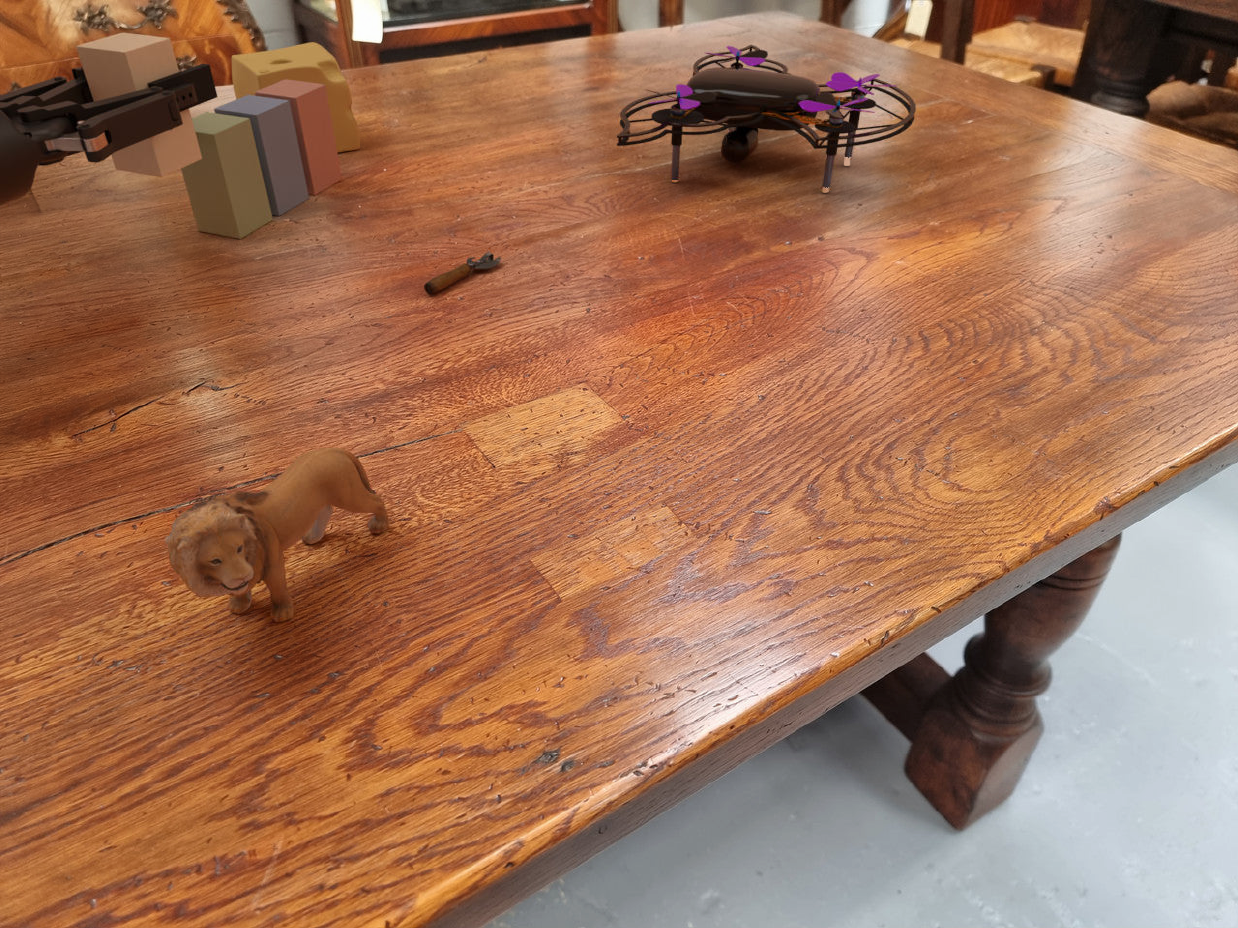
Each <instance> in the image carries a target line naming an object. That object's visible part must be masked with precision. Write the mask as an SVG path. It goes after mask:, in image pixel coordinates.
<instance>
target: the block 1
mask: <svg viewBox="0 0 1238 928" xmlns="http://www.w3.org/2000/svg"><path fill="white" fill-rule="evenodd" d="M75 48H76V51H77V54H78V58H79V60H80V64H81V66H82V67H81V68H83V70H84V73H85V76H86V79H87V82H88V85H89V88H90V91H91V94H92V97H93V100H94V102H95V101H99V100H103V99H107V98H111V97H115V96H119V95H123V94H127V93H131V92H135V91H139V90H143V89H147V88H149V87H148V84H147V83H149V82H152V81H155V80H158V79H161V78H164V77H166V76H169V75H172V74H175V73H178V72H180V70H179V65H178V62H177V59H176V54H175V51H174V47H173V44H172V40H171V38H170V37H164V36H155V35H147V34H138V33H131V32H119V33H115V34H112V35H109V36H105V37H101V38H99V39H95V40H92V41H88V42H85V43H81V44H78V45H75ZM180 115H181V118H182V122H183V124H182V125H180V126H178V127H175V128H173V129H172V130H168V131H166V132H163V133H161V134H158V135H156V136H153V137H151V138H148V139H146V140H143V141H141V142H138V143H136V144H133V145H131V146H129V147H126V148H124V149H121V150H119V151H116V152H114V153H113V154H112V155H111V158H112V162H113V165H114V168H115V170H117V171H123V172H128V173H134V174H141V175H144V176H145V175H146V176H152V177H157V178H164V177H166V176H168V175H171V174H173V173H175V172H177V171H179V170H181V168H183V167H185V166H188V165H190V164H192V163H194V162H196V161H198V160H201V159H202V155H201V152H200V148H199V144H198V141H197V137H196V133H195V129H194V126H193V122H192V118H193V117H192V115H191V111H190V108H189V109H187V110H184V111H182V112H180Z"/></svg>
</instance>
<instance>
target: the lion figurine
mask: <svg viewBox="0 0 1238 928" xmlns="http://www.w3.org/2000/svg"><path fill="white" fill-rule="evenodd" d="M333 507H336V508H338V509H340V510H344V511H346V512H349V513H350V512H351V513H354V514H369V513H370V514H373V516H372V518H370V519H369V521H368V522H367V528H368V531H369V532H370V533H373V534H382V533H384V532H386V531H387V530H388V528H389V525H390V521H389V516H388V513H387V509H386V506H385V503H384V501H383V499H382V497H381V496H380V494H377V492H376V490H375V489H373V488H372V486H371V482H370V479H369V476H368V473H367V472H366V470H365V468H364V465H363V464H362V462H361V461H360V460H359V458H358V457H357V456H356V455H355V454H354V453H352V451H350V450H348V449H346V448H341V447H325V448H324V447H323V448H318V449H314V450H310V451H307V452H304V453H302V454H300V455H299V456H298V457H296V458H295V459H294V460H293V461H292V462H291V463H290V465H289V466H288V467H287V468H286V469H285V470H284V471H283V472H282V473H281V474H279V476H278V477H276V478H275V479H274V480H273V481H272V482H270V483H269V484H267V485H266V486H265V487H263V488H262V489H260V490H258V491H257V492H249V491H246V490H236V491H234V492H232V493H226V494H224V495H223V496H220V495H217V496H210V497H209V499H203V500H200V502H197V503H193V504H192V506H191V507H190V508H188V509H186V510H185V511H183V512H181V514H180V515H179V516H178V517H176V518H175V519H174V520H173V522H172V524H171V532H170V533H169V534H168V535H166V537H165V538H164V542H165V544H166V546H167V547H168V558H169V565H170V566H171V568H172V570H173V571H174V572H175V573H176V574H177V575H178V576H179V577H180V579H181V581H183V583H184V585H185V586H186V588H187V589H188V590H189V591H190V592H192V593H193V594H194V595H196V596H197V597H198V598H200V599H201V598H204V599H208V598H217V597H222V596H229V598H228V601H227V608H228V609H227V610H228V611H230V613H232V614H238V615H239V614H240V615H241V614H243V613H244V612H246V611H247V610H248V609H249V608H250V607H251V605H252V601H253V595H252V590H253V589H254V588H255V587H256V585H257V584H261V582H263V583H264V584H265V585H266V587H267V589H268V590H269V595H270V603H271V607H272V608H271V609H270V612H269V614H270V615H269V616H270V618H271V619H272V620H273V621H274V622H276V623H281V622H286V621H289V620H292V619H293V618H294V615H295V607H294V600H293V598H292V596H291V593H290V591H289V589H288V583H287V577H286V574H287V573H286V566H285V565H286V564H285V563H286V560H285V559H286V558H285V553H284V552H286V551H287V550H288V549H290V548H291V547H292V546H294V545H295V544H296V543H298V542H299V541H300V540H301V541H302V542H303V543H306V544H308V545H313V544H316V543H318V542H319V541H321V540H322V539H323V538H324V536H325V533H326V530H327V527H328V525H329V522H330V520H331V518H332V516H333V513H334V508H333Z"/></svg>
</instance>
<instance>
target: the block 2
mask: <svg viewBox="0 0 1238 928" xmlns="http://www.w3.org/2000/svg"><path fill="white" fill-rule="evenodd" d="M191 118H192V122H193V126H194V129H195V133H196V137H197V141H198V144H199V148H200V152H201V155H202V159H201V160H198V161H196V162H194V163H192V164H190V165H188V166H185V167H183V168H181V169H180V170H181V174H182V179H183V182H184V184H185V188H186V191H187V195H188V199H189V202H190V206H191V209H192V213H193V216H194V219H195V223H196V227H197V230H198V232H202V233H207V234H211V235H216V236H223V237H228V238H233V239H237V240H241V239H243V238H244V237H246V236H248V235H250V234H252V233H253V232H255V231H257V230H258V229H260V228H262V227H263V226H266V225H267V224H268V223H271V222H272V221H273V220H274V219H273V215H272V214H271V209H270V205H269V201H268V196H267V192H266V188H265V183H264V179H263V175H262V170H261V166H260V161H259V157H258V153H257V148H256V144H255V140H254V135H253V131H252V127H251V122H250V119H249V118H244V117H237V116H230V115H223V114H216V113H215V112H208V111H206V112H202V113H201V114H198V115H196V116H194V117H191Z"/></svg>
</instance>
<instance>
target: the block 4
mask: <svg viewBox="0 0 1238 928" xmlns="http://www.w3.org/2000/svg"><path fill="white" fill-rule="evenodd" d="M255 96H260V97H267V98H275V99H282V100H289V101H290V106H291V111H292V116H293V121H294V126H295V131H296V136H297V141H298V146H299V151H300V156H301V160H302V165H303V170H304V175H305V180H306V185H307V190H308V195H312V196H316V195H318V194H319V193H321V192H324V191H325V190H327V189H328V188H329V187H331V186H333V185H335V184H336V183H338V182H339V181H341V180H343V176H342V172H341V170H342V169H341V166H340V165H341V164H340V160H339V154H338V153H339V152H338V153H337V148H336V142H335V136H334V131H333V125H332V119H331V114H330V108H329V102H328V97H327V91H326V85H325V84H317V83H310V82H302V81H294V80H287V79H285V80H282V81H280V82H278V83H275V84H273V85H270V86H268V87H266V88H263V89H261V90H258V91H256V92H255Z"/></svg>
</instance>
